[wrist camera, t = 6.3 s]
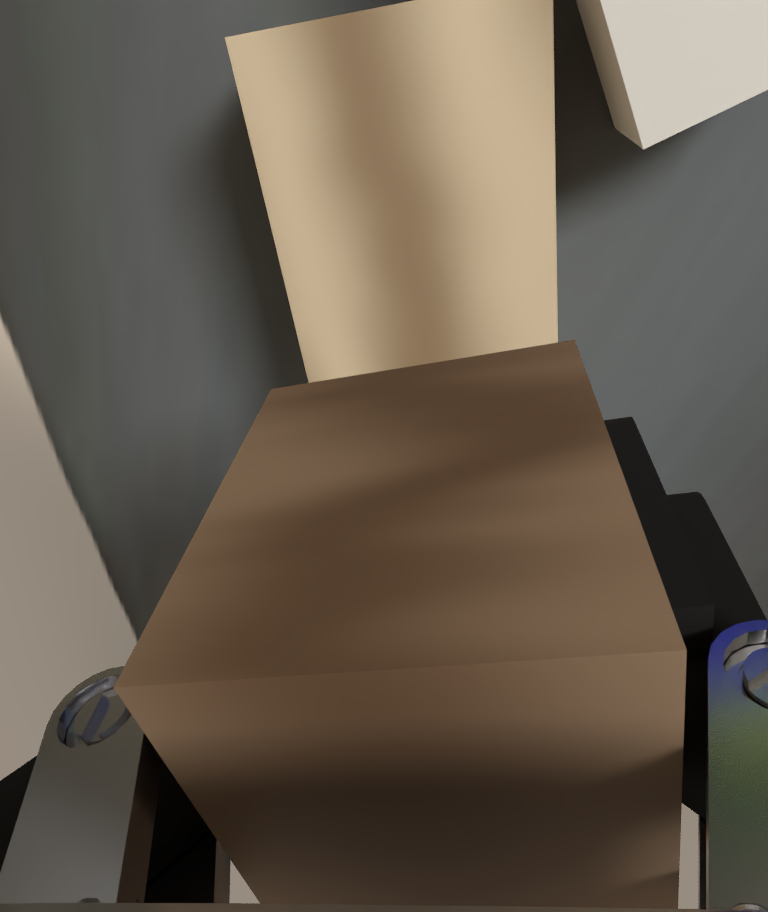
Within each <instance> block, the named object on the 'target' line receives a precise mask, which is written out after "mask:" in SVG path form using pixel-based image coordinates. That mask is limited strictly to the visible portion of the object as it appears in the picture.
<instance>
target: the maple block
mask: <svg viewBox="0 0 768 912" xmlns="http://www.w3.org/2000/svg"><path fill="white" fill-rule="evenodd" d="M225 40H226V44H227V48H228V52H229V56H230V60H231V64H232V69H233V73H234V77H235V81H236V85H237V89H238V93H239V97H240V102H241V106H242V110H243V114H244V118H245V122H246V126H247V130H248V135H249V139H250V143H251V147H252V151H253V155H254V159H255V163H256V168H257V172H258V176H259V180H260V184H261V188H262V192H263V196H264V201H265V205H266V209H267V213H268V217H269V221H270V225H271V229H272V234H273V238H274V242H275V246H276V250H277V254H278V258H279V262H280V267H281V271H282V275H283V279H284V283H285V287H286V291H287V295H288V300H289V304H290V308H291V312H292V316H293V320H294V324H295V328H296V332H297V337H298V341H299V345H300V349H301V353H302V357H303V361H304V365H305V370H306V374H307V378H308V382H309V383H311V382H317V381H323V380H330V379H336V378H342V377H348V376H354V375H360V374H367V373H373V372H379V371H385V370H391V369H397V368H404V367H410V366H416V365H422V364H428V363H435V362H441V361H447V360H453V359H459V358H465V357H472V356H478V355H484V354H490V353H496V352H502V351H509V350H515V349H521V348H527V347H533V346H539V345H546V344H552V343H558V324H557V249H556V175H555V101H554V26H553V0H413V1H408V2H403V3H398V4H393V5H388V6H383V7H378V8H373V9H368V10H362V11H357V12H352V13H347V14H342V15H337V16H332V17H327V18H322V19H317V20H312V21H306V22H301V23H296V24H291V25H286V26H281V27H276V28H271V29H266V30H261V31H256V32H251V33H245V34H240V35H235V36H230V37H225Z"/></svg>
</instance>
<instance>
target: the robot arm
mask: <svg viewBox="0 0 768 912" xmlns="http://www.w3.org/2000/svg"><path fill="white" fill-rule="evenodd" d="M604 423H605V426H606V428H607V431H608V434H609V437H610V439H611V442H612V445H613V448H614V450H615V453H616V456H617V459H618V462H619V464H620V467H621V470H622V473H623V475H624V478H625V481H626V484H627V486H628V489H629V492H630V495H631V497H632V500H633V503H634V506H635V508H636V511H637V514H638V517H639V519H640V522H641V525H642V528H643V531H644V533H645V536H646V539H647V542H648V544H649V547H650V550H651V553H652V555H653V558H654V561H655V564H656V566H657V569H658V572H659V575H660V577H661V580H662V583H663V586H664V588H665V591H666V594H667V597H668V600H669V602H670V605H671V608H672V611H673V613H674V616H675V619H676V622H677V624H678V627H679V630H680V633H681V635H682V638H683V641H684V644H685V646H686V649H687V659H686V688H685V717H684V746H683V774H682V803H683V804H684V805H686V806H687V807H689V808H690V809H691V810H693V811H694V812H695V813H697V814H698V815H699V833H698V842H699V843H698V909H655V908H587V907H520V906H448V905H352V904H240V903H238V904H237V903H235V904H234V903H233V904H232V903H229V894H230V858H229V857H228V855H227V854H226V852H225V851H224V849H223V848H222V846H221V845H220V843H219V842H218V840H217V839H216V837H215V836H214V835H213V833H212V832H211V830H210V829H209V827H208V826H207V824H206V823H205V821H204V820H203V818H202V817H201V815H200V814H199V813H198V811H197V810H196V808H195V807H194V805H193V804H192V802H191V801H190V799H189V798H188V796H187V795H186V793H185V792H184V791H183V789H182V788H181V786H180V785H179V783H178V782H177V780H176V779H175V777H174V776H173V774H172V773H171V771H170V770H169V769H168V767H167V766H166V764H165V763H164V761H163V760H162V758H161V757H160V755H159V754H158V752H157V751H156V750H155V748H154V747H153V745H152V744H151V742H150V741H149V739H148V738H147V736H146V735H145V733H144V732H143V730H142V729H141V728H140V726H139V725H138V723H137V722H136V720H135V719H134V717H133V716H132V714H131V713H130V711H129V710H128V708H127V707H126V706H125V704H124V703H123V701H122V700H121V698H120V697H119V695H118V694H117V692H116V691H115V689H114V686H115V684H116V682H117V680H118V678H119V676H120V674H121V672H122V671H123V669H124V667H123V666H122V667H117V668H111V669H107V670H105V671H102V672H100V673H97V674H95V675H93V676H91V677H90V678H88V679H86V680H85V681H83V682H82V683H80V684H79V685H77V686H76V687H75V688H74V689H73V690H72V691H71V692H70V693H68V694H67V695H66V696H65V697H64V698H63V700H62V701H61V702H60V703H59V705H58V706H57V707H56V709H55V710H54V711H53V714H52V716H51V718H50V720H49V722H48V724H47V727H46V730H45V733H44V736H43V739H42V742H41V746H40V749H39V752H38V755H37V756H36V757H34V758H33V759H31V760H30V761H28V762H27V763H26V764H24V765H23V766H21V767H20V768H18V769H17V770H16V771H14V772H13V773H11V774H10V775H8V776H7V777H5V778H4V779H2V780H1V781H0V912H768V620H767V619H766V618H765V616H764V614H763V612H762V610H761V608H760V606H759V604H758V602H757V600H756V598H755V596H754V594H753V592H752V590H751V588H750V586H749V584H748V582H747V581H746V579H745V577H744V575H743V573H742V571H741V569H740V567H739V565H738V563H737V561H736V559H735V557H734V555H733V553H732V551H731V549H730V547H729V545H728V544H727V542H726V540H725V538H724V536H723V534H722V532H721V530H720V528H719V526H718V524H717V522H716V520H715V518H714V516H713V514H712V512H711V510H710V509H709V507H708V505H707V503H706V501H705V499H704V498H703V496H702V495H701V494H700V493H698V492H691V493H682V494H673V495H666V493H665V490H664V488H663V486H662V483H661V481H660V479H659V477H658V474H657V472H656V470H655V467H654V465H653V463H652V460H651V458H650V456H649V454H648V451H647V449H646V447H645V444H644V442H643V440H642V438H641V435H640V433H639V431H638V428H637V426H636V424H635V422H634V420H633V418H632V417H626V418H618V419H611V420H604Z"/></svg>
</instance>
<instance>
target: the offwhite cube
mask: <svg viewBox="0 0 768 912" xmlns="http://www.w3.org/2000/svg"><path fill="white" fill-rule="evenodd" d="M576 3H577V6H578V9H579V12H580V16H581V19H582V22H583V26H584V29H585V32H586V35H587V39H588V42H589V45H590V49H591V52H592V55H593V58H594V62H595V65H596V68H597V71H598V75H599V78H600V81H601V85H602V88H603V91H604V94H605V98H606V101H607V104H608V108H609V111H610V114H611V117H612V121H613V124H614V127H615V129H617V130H618V131H619V132H621V133H622V134H623V135H625V136H626V137H627V138H629V139H630V140H631V141H633V142H634V143H635V144H637V145H638V146H639V147H641V148H642V149H643V150H644V149H646V148H648V147H650V146H652V145H654V144H656V143H658V142H660V141H662V140H664V139H666V138H668V137H671V136H673V135H675V134H677V133H679V132H681V131H683V130H685V129H687V128H689V127H691V126H693V125H695V124H697V123H700V122H702V121H704V120H706V119H708V118H710V117H712V116H714V115H716V114H718V113H720V112H722V111H724V110H726V109H729V108H731V107H733V106H735V105H737V104H739V103H741V102H743V101H745V100H747V99H749V98H751V97H753V96H755V95H758V94H760V93H762V92H764V91H766V90H768V0H576Z"/></svg>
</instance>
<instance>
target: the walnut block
mask: <svg viewBox="0 0 768 912" xmlns="http://www.w3.org/2000/svg"><path fill="white" fill-rule="evenodd" d="M686 659H687V649H686V646H685V644H684V641H683V638H682V635H681V633H680V630H679V627H678V624H677V622H676V619H675V616H674V613H673V611H672V608H671V605H670V602H669V600H668V597H667V594H666V591H665V588H664V586H663V583H662V580H661V577H660V575H659V572H658V569H657V566H656V564H655V561H654V558H653V555H652V553H651V550H650V547H649V544H648V542H647V539H646V536H645V533H644V531H643V528H642V525H641V522H640V519H639V517H638V514H637V511H636V508H635V506H634V503H633V500H632V497H631V495H630V492H629V489H628V486H627V484H626V481H625V478H624V475H623V473H622V470H621V467H620V464H619V462H618V459H617V456H616V453H615V450H614V448H613V445H612V442H611V439H610V437H609V434H608V431H607V428H606V426H605V423H604V420H603V417H602V415H601V412H600V409H599V406H598V404H597V401H596V398H595V395H594V393H593V390H592V387H591V384H590V381H589V379H588V376H587V373H586V370H585V368H584V365H583V362H582V359H581V357H580V354H579V351H578V348H577V346H576V343H575V340H570V341H564V342H558V343H552V344H546V345H539V346H533V347H527V348H521V349H515V350H509V351H502V352H496V353H490V354H484V355H478V356H472V357H465V358H459V359H453V360H447V361H441V362H435V363H428V364H422V365H416V366H410V367H404V368H397V369H391V370H385V371H379V372H373V373H367V374H360V375H354V376H348V377H342V378H336V379H330V380H323V381H317V382H311V383H305V384H299V385H293V386H286V387H280V388H274V389H271V390H270V392H269V394H268V396H267V398H266V400H265V401H264V403H263V405H262V407H261V409H260V411H259V413H258V415H257V417H256V419H255V420H254V422H253V424H252V426H251V428H250V430H249V432H248V434H247V436H246V437H245V439H244V441H243V443H242V445H241V447H240V449H239V451H238V453H237V455H236V456H235V458H234V460H233V462H232V464H231V466H230V468H229V470H228V472H227V473H226V475H225V477H224V479H223V481H222V483H221V485H220V487H219V489H218V491H217V492H216V494H215V496H214V498H213V500H212V502H211V504H210V506H209V508H208V509H207V511H206V513H205V515H204V517H203V519H202V521H201V523H200V525H199V527H198V528H197V530H196V532H195V534H194V536H193V538H192V540H191V542H190V544H189V545H188V547H187V549H186V551H185V553H184V555H183V557H182V559H181V561H180V563H179V564H178V566H177V568H176V570H175V572H174V574H173V576H172V578H171V580H170V581H169V583H168V585H167V587H166V589H165V591H164V593H163V595H162V597H161V599H160V600H159V602H158V604H157V606H156V608H155V610H154V612H153V614H152V616H151V617H150V619H149V621H148V623H147V625H146V627H145V629H144V631H143V633H142V635H141V636H140V638H139V640H138V642H137V644H136V646H135V648H134V650H133V652H132V654H131V655H130V657H129V659H128V661H127V663H126V665H125V667H124V669H123V671H122V672H121V674H120V676H119V678H118V680H117V682H116V684H115V686H114V689H115V691H116V692H117V694H118V695H119V697H120V698H121V700H122V701H123V703H124V704H125V706H126V707H127V708H128V710H129V711H130V713H131V714H132V716H133V717H134V719H135V720H136V722H137V723H138V725H139V726H140V728H141V729H142V730H143V732H144V733H145V735H146V736H147V738H148V739H149V741H150V742H151V744H152V745H153V747H154V748H155V750H156V751H157V752H158V754H159V755H160V757H161V758H162V760H163V761H164V763H165V764H166V766H167V767H168V769H169V770H170V771H171V773H172V774H173V776H174V777H175V779H176V780H177V782H178V783H179V785H180V786H181V788H182V789H183V791H184V792H185V793H186V795H187V796H188V798H189V799H190V801H191V802H192V804H193V805H194V807H195V808H196V810H197V811H198V813H199V814H200V815H201V817H202V818H203V820H204V821H205V823H206V824H207V826H208V827H209V829H210V830H211V832H212V833H213V835H214V836H215V837H216V839H217V840H218V842H219V843H220V845H221V846H222V848H223V849H224V851H225V852H226V854H227V855H228V857H229V858H230V859H231V861H232V862H233V864H234V865H235V867H236V868H237V870H238V871H239V873H240V874H241V876H242V877H243V879H244V880H245V881H246V883H247V884H248V886H249V887H250V889H251V890H252V892H253V893H254V895H255V896H256V898H257V899H258V901H259V902H260V903H261V904H352V905H448V906H520V907H587V908H655V909H678V887H679V860H680V832H681V803H682V774H683V746H684V717H685V688H686Z"/></svg>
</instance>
